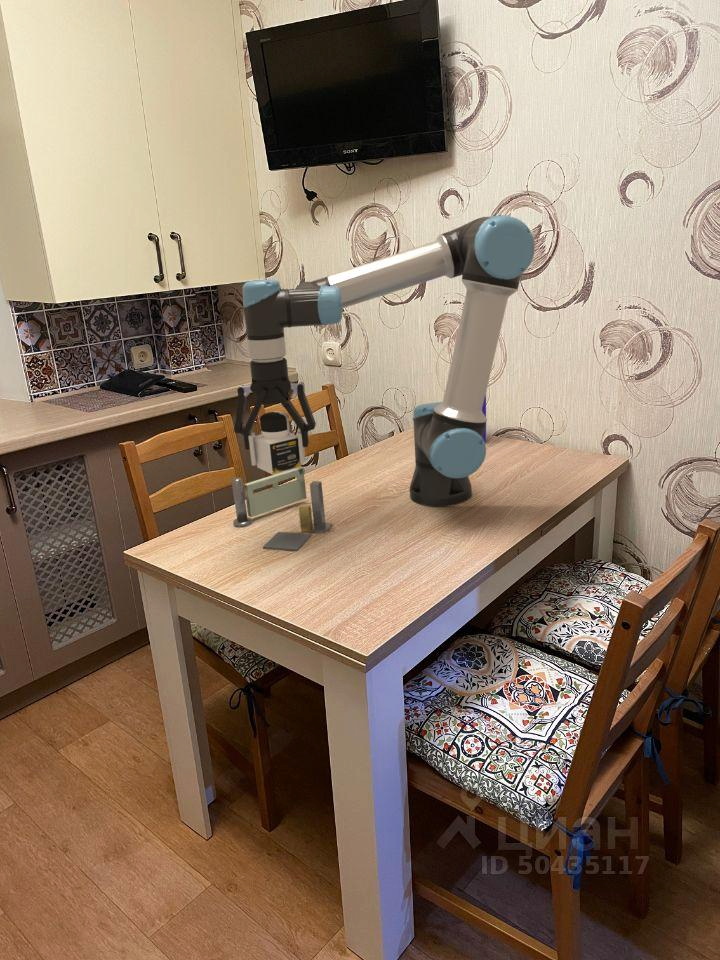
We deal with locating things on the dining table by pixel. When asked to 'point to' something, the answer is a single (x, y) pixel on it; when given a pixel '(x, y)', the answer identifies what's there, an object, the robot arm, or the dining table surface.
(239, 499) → the hinge post
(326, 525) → the post
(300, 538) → the mat
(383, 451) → the dining table surface
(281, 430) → the medicine bottle
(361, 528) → the dining table surface
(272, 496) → the gate
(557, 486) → the dining table surface
